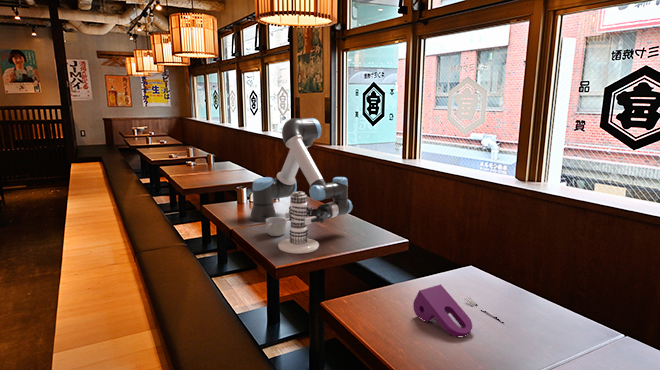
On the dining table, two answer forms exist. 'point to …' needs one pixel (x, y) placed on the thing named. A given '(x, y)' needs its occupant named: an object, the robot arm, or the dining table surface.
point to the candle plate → (288, 248)
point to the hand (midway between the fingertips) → (295, 218)
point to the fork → (474, 302)
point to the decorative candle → (298, 219)
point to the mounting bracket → (441, 310)
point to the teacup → (275, 226)
